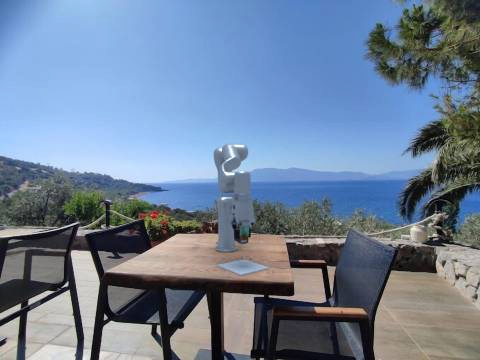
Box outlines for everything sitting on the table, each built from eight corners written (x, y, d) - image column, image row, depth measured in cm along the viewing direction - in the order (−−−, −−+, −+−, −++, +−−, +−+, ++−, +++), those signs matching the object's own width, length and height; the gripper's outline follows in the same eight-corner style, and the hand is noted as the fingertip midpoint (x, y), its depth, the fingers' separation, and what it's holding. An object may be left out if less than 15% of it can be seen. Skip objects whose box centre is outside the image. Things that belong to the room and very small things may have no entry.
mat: (216, 266, 130) (217, 264, 130) (243, 260, 139) (243, 259, 139) (241, 276, 115) (241, 274, 115) (269, 268, 125) (269, 267, 125)
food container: (255, 243, 123) (255, 221, 124) (242, 244, 121) (242, 221, 122) (245, 239, 135) (244, 218, 135) (232, 239, 133) (232, 218, 133)
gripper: (232, 199, 120) (232, 241, 119) (261, 197, 130) (262, 236, 130) (222, 198, 126) (222, 238, 125) (251, 197, 136) (251, 234, 136)
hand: (242, 237), depth 128 cm, fingers closed on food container, 5 cm apart
